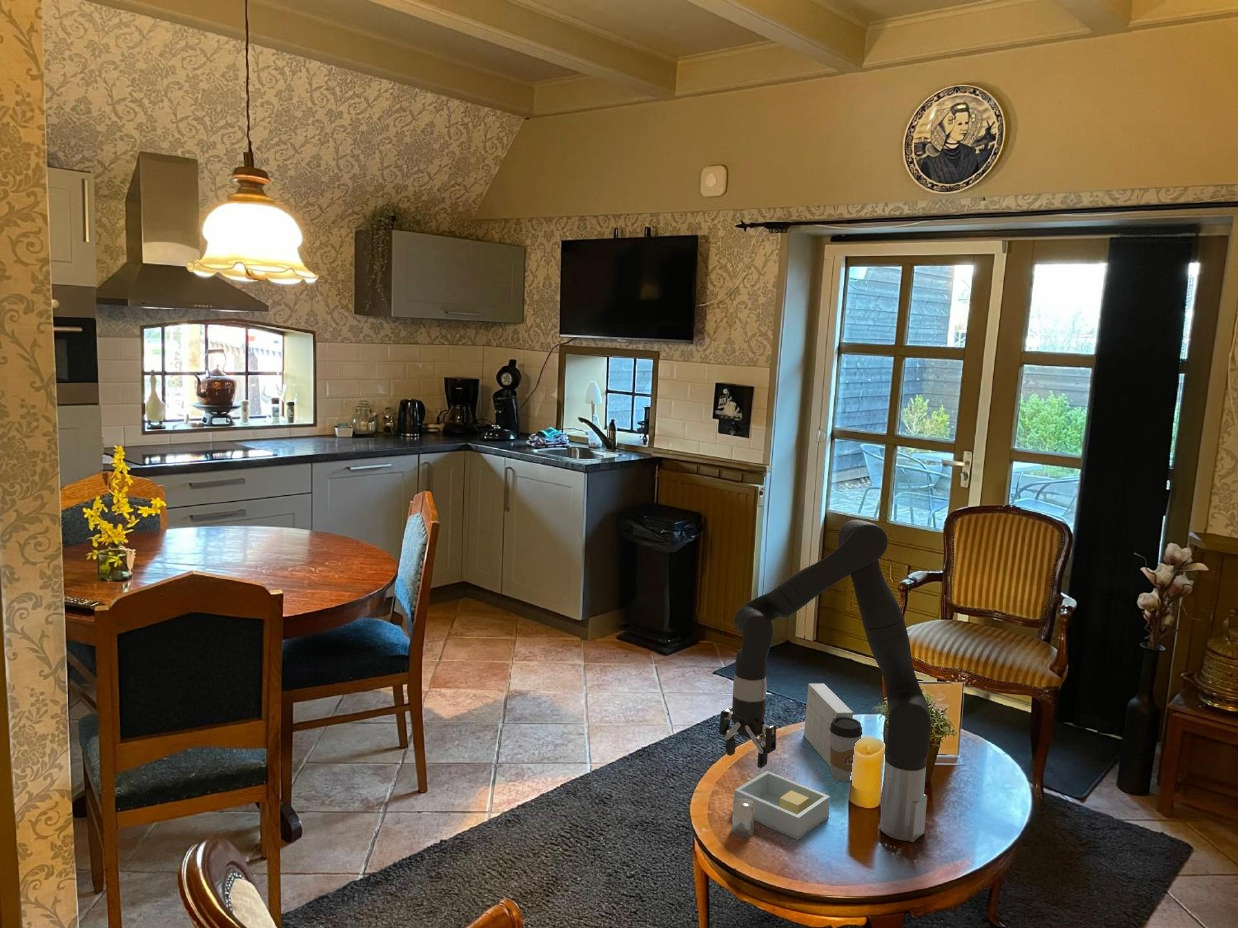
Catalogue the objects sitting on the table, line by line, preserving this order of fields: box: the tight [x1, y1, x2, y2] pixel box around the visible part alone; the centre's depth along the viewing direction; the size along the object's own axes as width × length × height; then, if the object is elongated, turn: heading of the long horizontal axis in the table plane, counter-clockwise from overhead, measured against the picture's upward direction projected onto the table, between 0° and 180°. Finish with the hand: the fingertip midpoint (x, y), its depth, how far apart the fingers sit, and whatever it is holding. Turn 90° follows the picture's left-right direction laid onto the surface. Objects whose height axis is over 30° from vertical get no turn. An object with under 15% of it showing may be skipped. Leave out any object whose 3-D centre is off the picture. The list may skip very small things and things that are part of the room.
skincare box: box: [803, 683, 854, 768], centre depth 258 cm, size 21×5×16 cm, turn 9°
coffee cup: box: [830, 717, 863, 783], centre depth 243 cm, size 8×8×15 cm
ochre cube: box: [779, 791, 809, 814], centre depth 222 cm, size 5×5×5 cm
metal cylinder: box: [731, 798, 755, 839], centre depth 216 cm, size 5×5×7 cm
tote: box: [733, 770, 831, 841], centre depth 224 cm, size 18×14×6 cm
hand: (745, 760), depth 214 cm, fingers open, 8 cm apart
